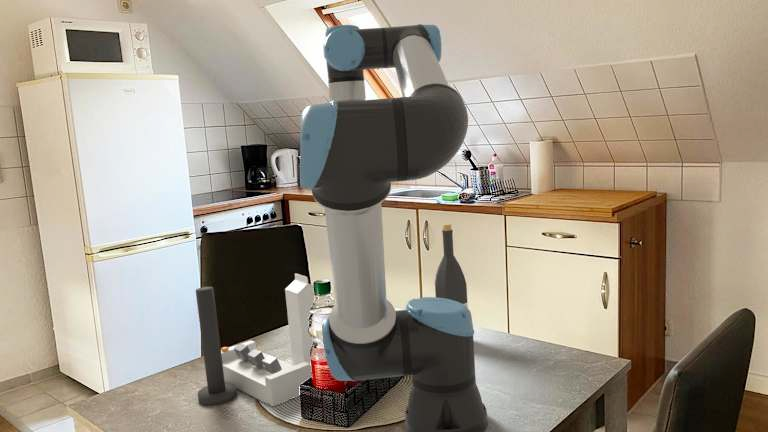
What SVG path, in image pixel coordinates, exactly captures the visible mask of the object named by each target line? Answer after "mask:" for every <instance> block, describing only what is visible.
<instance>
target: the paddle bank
mask: <svg viewBox="0 0 768 432" xmlns="http://www.w3.org/2000/svg"><path fill="white" fill-rule="evenodd" d="M242 343H243V342H242ZM242 343H241V342H240V343H238V344H236V345H237V346H236V347H235V348H234V350H235V352H236V354H237V356H238V358H239V359H241V360H243V361H245V362H246V361H249V362H251V363H252V365H254V366H256V367H258V368H261V367H262V368H265V369H266V370H267V372H269V373H272V374H274V373H277V372H279V371H280V370H282V368H281V366H280V364H279V362H278V360H277V359H278V357H275V356H272V355H270V354H267V355H268V356H267V357H266V358H264V356H263V354H262V353H263V352H262V351H261V350H258V349H257V348H256V349H253V350H252V351H251V352H250V350H249V348H248V346H246V345H244V344H242Z"/></svg>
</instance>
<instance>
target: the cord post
mask: <svg viewBox="0 0 768 432" xmlns="http://www.w3.org/2000/svg"><path fill="white" fill-rule="evenodd" d="M195 296H196V297H195V298H196V306H197V313H198V320H199V329H200V335H201V336H200V337H201V344H202V352H203V358H204V359H203V361H204V368H205V369H204V370H205V376H206V386H204V387H202V388H200V390H198V392H197V398H198V403H199V404H201V405H202V406H208V407H209V406H212V407H213V406H218V405H222V404H226V403H229V402H230V401H232V400H234V399H235V398H236V397H237V394H238V393H237V388H236V386H235V385H234V384H232V383H226V382H225V381H224V372H223V364H222V356H221V348H222V347H221V340H220V333H219V325H218V316H217V315H218V314H217V308H216V300H215V290H214V287H213V286H203V287H199V288H196V289H195Z"/></svg>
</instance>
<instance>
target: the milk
mask: <svg viewBox="0 0 768 432" xmlns="http://www.w3.org/2000/svg"><path fill="white" fill-rule="evenodd" d="M284 293H285V302H286V310H287V312H286V313H287V321H288V322H287V323H288V332H289V333H288V334H289V342H290V352H291V361H292V365H294V366H295V365H298V364H300V363H303V362H307V363H309V364H310V348H311V345H312V341H313V340H312V338H311V337H310V335H309V333H308V317H309V310H310V307H311V305H312V304H313V301H314V292H313V284H310V283H309V278H308V276H305V275H302V274H299V273H294V280H293V281H292V282H291V283H290V284H289V285H287V287H285V288H284ZM310 367H311V366H310Z"/></svg>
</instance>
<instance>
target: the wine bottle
mask: <svg viewBox="0 0 768 432" xmlns="http://www.w3.org/2000/svg"><path fill="white" fill-rule="evenodd" d="M441 232H442V245H443V248H442V249H443V256H442V258H441V261H440V263H439V265H438V267H437V270H436V274H435V280H434V292H435V294H434V295H435V297H437V298H445V299H450V300H454V301H457V302H459V303H461V304H463V305H465V306H466V307H467V308H468V309H469V306H468V289H467V286H468V285H467V281H466V278H465V275H464V273H463V269H462V267H461V265H460V263H459V262H458V260H457V258H456V256H455V255H454V239H453V238H454V237H453V232H454V231H453V229H452V224H451V223H443V224H442V230H441Z"/></svg>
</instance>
